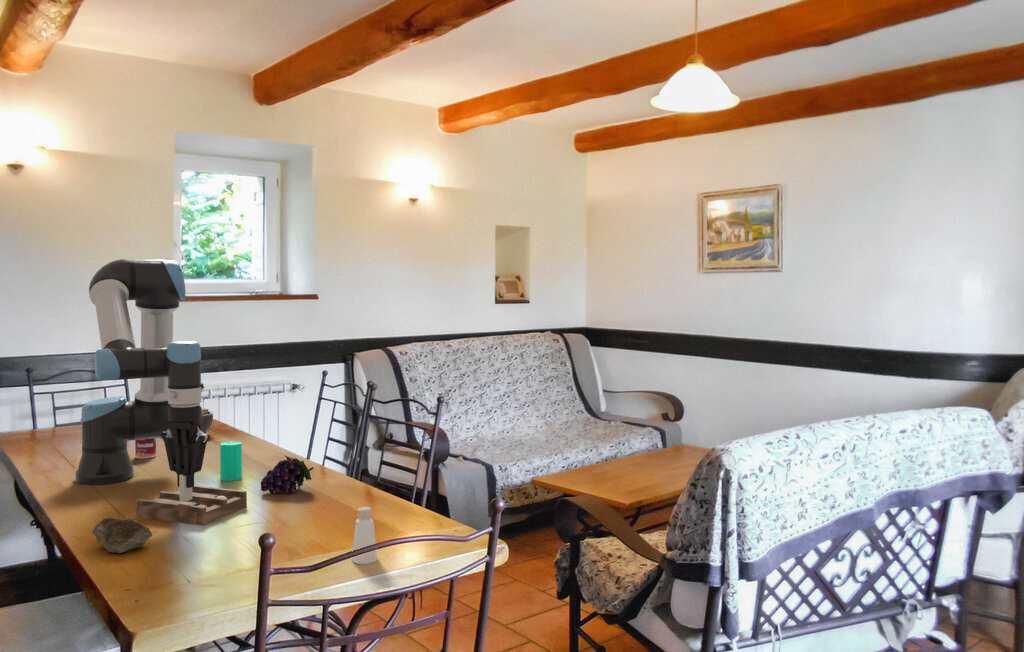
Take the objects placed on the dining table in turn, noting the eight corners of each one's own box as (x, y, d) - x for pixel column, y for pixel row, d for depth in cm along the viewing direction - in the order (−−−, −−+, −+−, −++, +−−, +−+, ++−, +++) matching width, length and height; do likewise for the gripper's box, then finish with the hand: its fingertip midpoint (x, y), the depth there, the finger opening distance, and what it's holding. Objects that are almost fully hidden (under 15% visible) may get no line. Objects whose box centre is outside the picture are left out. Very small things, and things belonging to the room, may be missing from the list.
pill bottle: (134, 459, 250) (134, 426, 249) (135, 455, 256) (135, 422, 255) (155, 458, 252) (155, 424, 252) (156, 454, 258) (156, 421, 257)
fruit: (261, 502, 214) (311, 481, 223) (273, 505, 205) (324, 483, 214) (250, 467, 213) (300, 447, 222) (261, 469, 205) (313, 448, 213)
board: (136, 516, 190) (136, 499, 190) (183, 499, 205) (183, 484, 205) (203, 525, 184) (203, 508, 183) (246, 507, 199) (246, 491, 198)
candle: (234, 481, 224) (234, 440, 224) (216, 480, 225) (215, 439, 225) (246, 476, 230) (245, 436, 229) (227, 475, 231) (227, 435, 231)
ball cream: (208, 506, 195) (213, 495, 194) (217, 503, 199) (223, 491, 198) (218, 514, 194) (224, 502, 194) (228, 510, 198) (233, 499, 197)
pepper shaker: (346, 562, 161) (346, 510, 160) (360, 554, 166) (360, 503, 165) (368, 566, 159) (368, 513, 158) (382, 557, 164) (382, 506, 163)
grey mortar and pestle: (209, 438, 284) (209, 384, 283) (164, 438, 284) (163, 384, 283) (225, 431, 299) (224, 379, 298) (182, 430, 299) (181, 379, 298)
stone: (80, 539, 167) (103, 505, 171) (108, 553, 173) (130, 520, 177) (112, 552, 160) (135, 516, 164) (140, 566, 166) (162, 531, 170)
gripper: (151, 405, 187) (153, 501, 188) (195, 408, 183) (196, 507, 184) (174, 401, 194) (175, 493, 195) (217, 404, 190) (218, 498, 191)
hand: (186, 500), depth 190 cm, fingers closed
